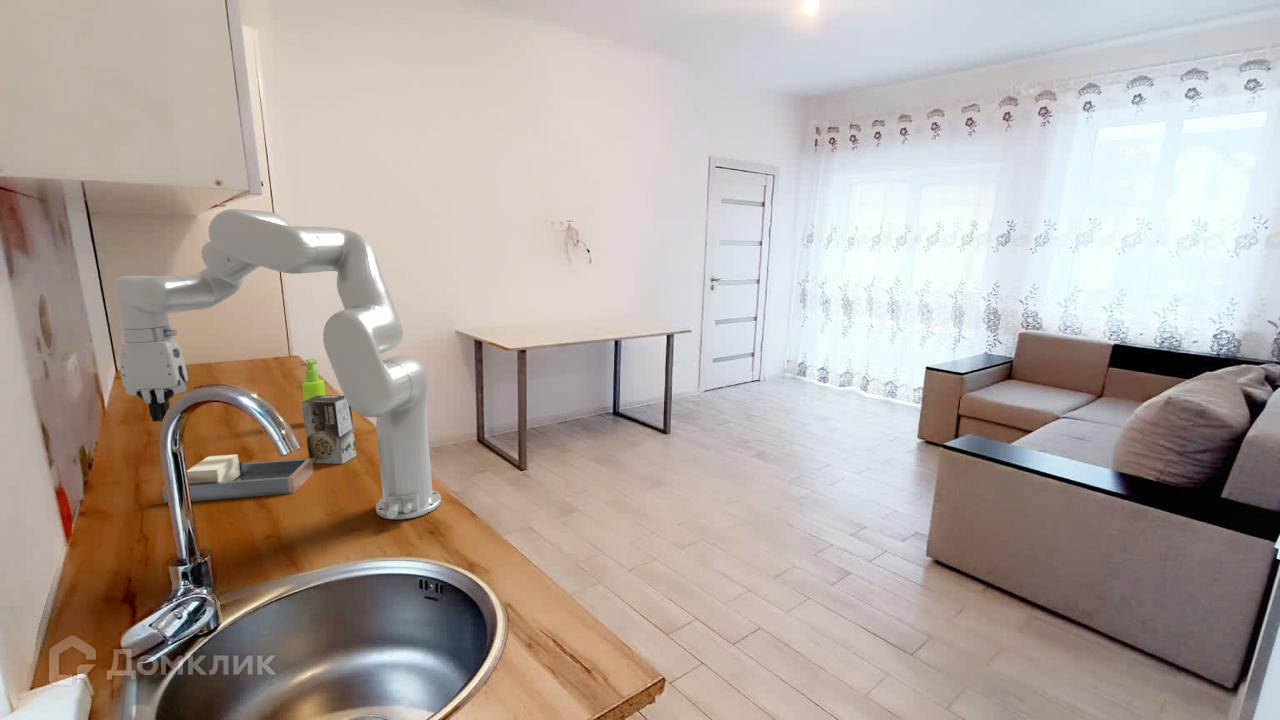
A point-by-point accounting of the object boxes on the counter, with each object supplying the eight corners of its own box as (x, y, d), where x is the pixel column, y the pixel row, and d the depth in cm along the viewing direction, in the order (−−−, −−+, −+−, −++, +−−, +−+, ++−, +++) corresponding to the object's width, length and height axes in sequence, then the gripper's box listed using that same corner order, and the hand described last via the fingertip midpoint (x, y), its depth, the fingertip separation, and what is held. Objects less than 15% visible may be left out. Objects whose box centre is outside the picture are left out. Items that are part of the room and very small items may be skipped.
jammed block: (220, 491, 122) (216, 469, 121) (188, 494, 121) (184, 472, 120) (240, 474, 131) (237, 454, 130) (211, 476, 130) (208, 456, 129)
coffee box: (357, 455, 147) (351, 395, 143) (342, 464, 140) (335, 402, 137) (324, 454, 148) (317, 394, 144) (308, 463, 141) (300, 401, 138)
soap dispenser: (310, 428, 168) (302, 362, 164) (304, 423, 173) (296, 359, 169) (332, 424, 172) (324, 359, 168) (325, 419, 177) (318, 356, 173)
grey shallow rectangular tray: (294, 493, 124) (292, 476, 124) (164, 503, 120) (161, 486, 119) (313, 472, 136) (311, 456, 135) (196, 480, 131) (193, 464, 130)
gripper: (197, 332, 123) (209, 413, 127) (118, 333, 120) (132, 416, 124) (177, 337, 116) (191, 423, 120) (92, 339, 113) (108, 427, 117)
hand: (161, 419), depth 122 cm, fingers closed
